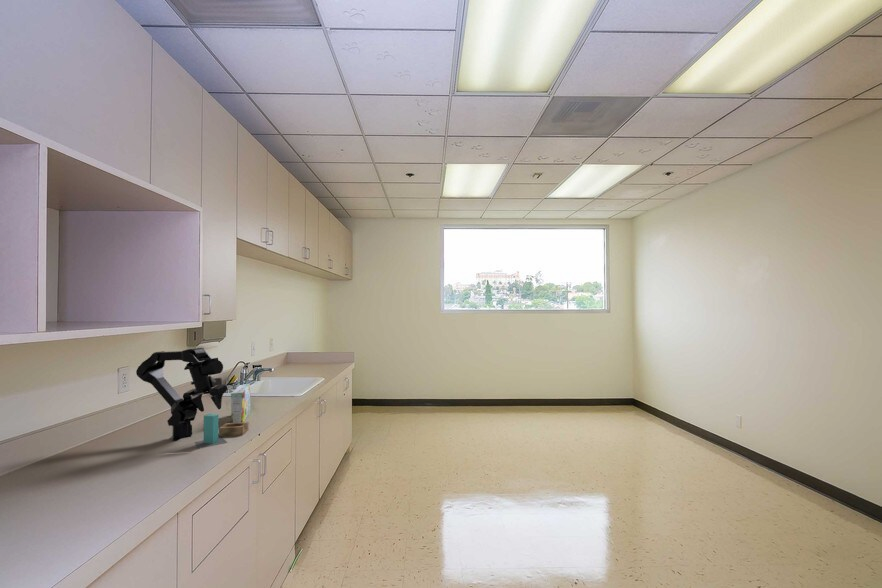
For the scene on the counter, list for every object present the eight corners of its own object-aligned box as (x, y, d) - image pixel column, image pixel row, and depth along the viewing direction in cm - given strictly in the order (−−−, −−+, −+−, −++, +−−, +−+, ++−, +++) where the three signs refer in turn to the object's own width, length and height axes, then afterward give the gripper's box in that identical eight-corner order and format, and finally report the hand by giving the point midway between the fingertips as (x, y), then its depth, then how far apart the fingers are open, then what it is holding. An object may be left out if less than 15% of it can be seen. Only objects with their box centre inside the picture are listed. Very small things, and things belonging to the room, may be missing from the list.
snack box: (239, 413, 203) (239, 384, 204) (250, 412, 205) (251, 383, 206) (230, 424, 183) (230, 392, 184) (243, 423, 185) (243, 391, 185)
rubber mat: (198, 450, 150) (198, 448, 150) (194, 443, 158) (194, 442, 158) (227, 443, 157) (227, 442, 157) (221, 437, 164) (221, 436, 164)
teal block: (203, 442, 157) (203, 415, 157) (208, 440, 159) (209, 413, 159) (213, 443, 155) (213, 416, 156) (218, 441, 158) (218, 414, 158)
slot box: (218, 437, 164) (219, 428, 164) (225, 432, 171) (225, 423, 171) (242, 436, 166) (242, 426, 166) (248, 431, 173) (248, 422, 173)
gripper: (231, 366, 170) (242, 399, 173) (198, 372, 175) (208, 403, 177) (211, 376, 160) (223, 411, 162) (176, 382, 164) (188, 416, 167)
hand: (211, 410), depth 167 cm, fingers open, 9 cm apart
